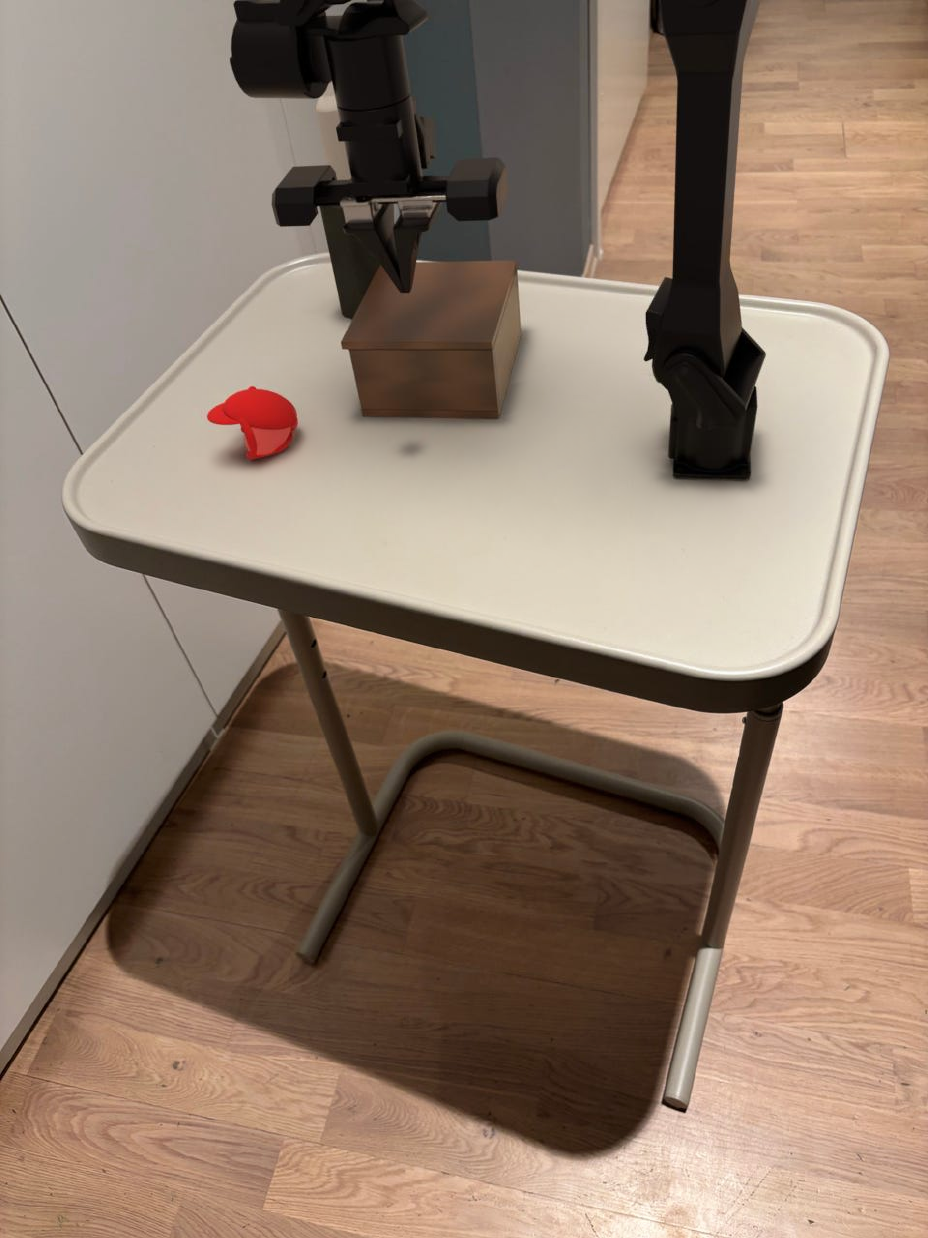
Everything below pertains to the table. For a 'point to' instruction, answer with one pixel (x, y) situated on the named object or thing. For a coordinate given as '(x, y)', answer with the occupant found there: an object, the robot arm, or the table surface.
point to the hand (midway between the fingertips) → (406, 290)
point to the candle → (342, 218)
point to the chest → (440, 376)
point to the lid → (434, 308)
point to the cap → (258, 419)
